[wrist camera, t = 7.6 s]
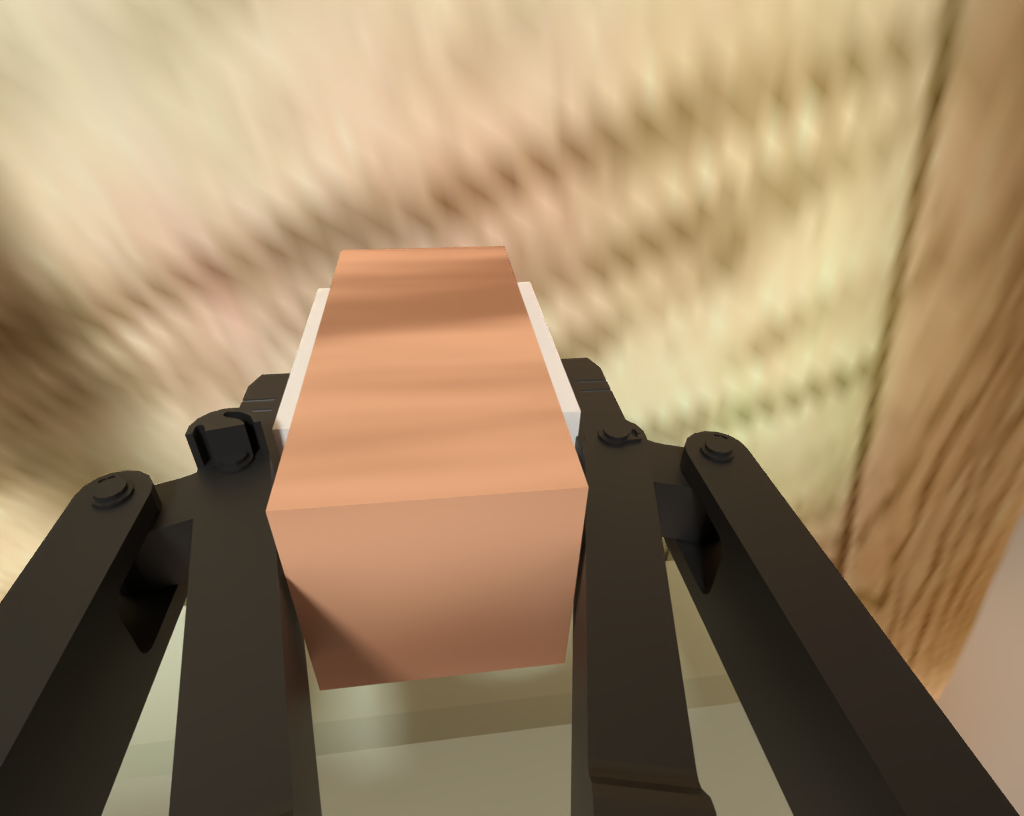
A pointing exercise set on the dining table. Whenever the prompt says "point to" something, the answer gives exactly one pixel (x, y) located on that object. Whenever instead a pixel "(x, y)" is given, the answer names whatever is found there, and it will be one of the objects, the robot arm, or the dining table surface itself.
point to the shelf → (469, 738)
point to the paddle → (428, 476)
